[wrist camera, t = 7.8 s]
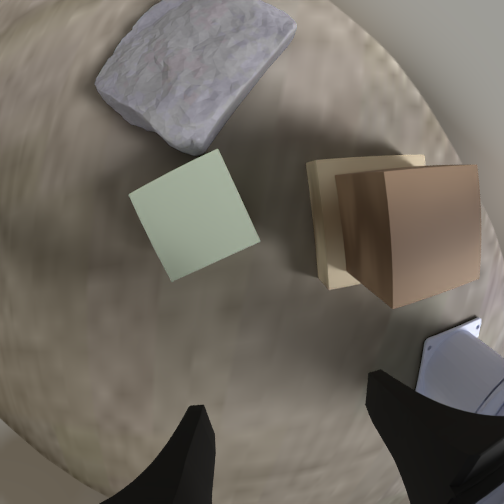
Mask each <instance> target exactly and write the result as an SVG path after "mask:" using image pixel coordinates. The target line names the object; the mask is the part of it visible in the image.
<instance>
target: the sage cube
mask: <svg viewBox="0 0 504 504" xmlns="http://www.w3.org/2000/svg"><path fill="white" fill-rule="evenodd" d="M128 195H129V197H130V199H131V201H132V204H133V206H134V208H135V210H136V212H137V214H138V217H139V219H140V221H141V223H142V225H143V227H144V229H145V231H146V233H147V235H148V237H149V239H150V241H151V243H152V245H153V247H154V249H155V251H156V253H157V255H158V257H159V259H160V261H161V263H162V265H163V267H164V269H165V271H166V272H167V274H168V276H169V278H170V280H171V282H173V281H175V280H177V279H179V278H181V277H184V276H186V275H188V274H190V273H192V272H195V271H197V270H199V269H201V268H203V267H206V266H208V265H210V264H212V263H214V262H217V261H219V260H221V259H223V258H225V257H228V256H230V255H232V254H234V253H236V252H239V251H241V250H243V249H245V248H247V247H250V246H252V245H254V244H256V243H258V242H261V241H260V239H259V237H258V235H257V232H256V230H255V228H254V226H253V224H252V221H251V219H250V217H249V215H248V213H247V210H246V208H245V206H244V204H243V202H242V200H241V197H240V195H239V193H238V191H237V189H236V186H235V184H234V182H233V180H232V178H231V176H230V173H229V171H228V169H227V167H226V165H225V163H224V160H223V158H222V156H221V154H220V152H219V150H218V149H216V150H214V151H212V152H209V153H207V154H205V155H203V156H201V157H199V158H197V159H195V160H193V161H191V162H188V163H186V164H184V165H182V166H180V167H178V168H176V169H174V170H173V171H171V172H169V173H167V174H165V175H163V176H161V177H159V178H157V179H155V180H153V181H152V182H150V183H148V184H146V185H144V186H143V187H141V188H139V189H137V190H135V191H134V192H132V193H130V194H128Z"/></svg>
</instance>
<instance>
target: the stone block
mask: <svg viewBox="0 0 504 504" xmlns="http://www.w3.org/2000/svg"><path fill="white" fill-rule="evenodd" d="M296 29H297V24H296V22H295V21H294V20H293V19H292V18H291V17H290V16H289V15H288V14H287V13H285V12H284V11H282V10H279V9H277V8H276V7H274V6H272V5H270V4H268V3H265V2H263V1H261V0H162V1H161V2H159V3H157V4H155V5H154V6H152V7H151V8H150V9H149V10H148V11H147V12H145V13H144V14H143V15H142V16H141V18H140V19H139V20H138V21H137V22H136V24H135V25H134V26H133V29H132V30H131V31H130V32H129V33H128V34H127V35H126V36H125V37H124V38H123V39H122V40H121V42H120V43H119V44H118V46H117V47H116V49H115V51H114V53H113V55H112V56H111V57H110V58H108V60H107V62H106V63H105V65H104V66H103V68H102V70H101V71H100V73H99V75H98V76H97V78H96V81H95V85H96V89H97V91H98V92H99V94H100V95H101V97H102V99H103V100H104V101H105V102H106V103H107V104H108V105H110V106H111V107H112V108H113V109H114V110H115V111H116V112H118V113H119V114H121V116H122V117H123V119H125V120H126V121H128V122H129V123H130V124H131V125H135V126H138V127H142V128H144V129H145V130H146V131H153V132H156V133H158V134H159V135H160V136H161V137H162V138H163V139H164V140H165V141H166V142H167V144H168V145H170V146H171V147H173V148H175V149H177V150H179V151H181V152H183V153H188V154H190V155H193V156H199V155H201V154H204V153H205V151H206V150H207V149H208V147H209V145H210V144H211V143H212V141H213V140H214V139H215V137H216V136H217V134H218V133H219V132H220V130H221V129H222V127H223V126H224V125H225V123H226V122H227V121H228V119H229V118H230V116H231V115H232V114H233V112H234V111H235V110H236V108H237V107H238V106H239V105H240V103H241V102H242V101H243V100H244V98H245V97H246V96H247V94H248V93H249V92H250V91H251V89H252V88H253V87H254V86H255V84H256V83H257V82H258V80H259V79H260V78H261V77H262V75H263V74H264V73H265V72H266V70H267V69H268V68H269V67H270V66H271V65H272V64H273V62H274V61H275V60H276V59H277V58H278V56H280V55H281V53H282V52H283V51H284V50H285V49H286V48H287V46H288V45H289V44H290V42H291V41H292V39H293V38H294V35H295V31H296Z"/></svg>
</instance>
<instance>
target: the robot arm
mask: <svg viewBox="0 0 504 504" xmlns="http://www.w3.org/2000/svg"><path fill="white" fill-rule="evenodd" d="M480 326H481V318H479V317H477V318H475V319H473V320H471V321H468V322H466V323H464V324H462V325H459V326H457V327H454V328H452V329H450V330H447V331H445V332H442V333H440V334H437V335H434V336H432V337H429V338H427V339H426V341H425V343H424V348H423V354H422V360H421V366H420V371H419V376H418V381H417V386H416V390H413V389H411V388H409V387H408V386H406V385H405V384H403V383H401V382H400V381H398V380H397V379H395V378H393V377H392V376H390V375H389V374H387V373H386V372H384V371H382V370H381V369H380V370H377V371H374V372H371V373H368V384H367V395H366V404H365V405H366V408H367V410H368V413H369V415H370V417H371V420H372V422H373V424H374V426H375V427H376V429H377V431H378V433H379V434H380V436H381V438H382V439H383V441H384V443H385V444H386V446H387V448H388V450H389V451H390V453H391V455H392V457H393V458H394V460H395V462H396V465H397V467H398V470H399V472H400V475H401V477H402V480H403V483H404V485H405V488H406V491H407V494H408V497H409V500H410V504H504V358H503V357H502V356H501V355H499V354H498V353H497V352H496V351H494V350H493V349H492V348H490V347H489V346H488V345H486V344H485V343H484V342H482V341H481V340H480V339H478V335H479V331H480ZM215 454H216V451H215V433H214V431H213V428H212V425H211V423H210V420H209V417H208V415H207V412H206V409H205V407H204V405H193V406H189V408H188V409H187V411H186V413H185V415H184V417H183V418H182V420H181V422H180V424H179V425H178V427H177V429H176V430H175V432H174V433H173V435H172V436H171V438H170V440H169V441H168V443H167V444H166V445H165V447H164V448H163V449H162V451H161V452H160V453H159V455H158V456H157V457H156V458H155V460H154V461H153V462H152V463H151V464H150V465H149V466H148V467H147V468H146V469H145V470H144V471H143V472H142V473H141V474H140V475H139V476H138V477H137V478H136V479H135V480H134V481H133V482H131V483H130V484H129V485H128V486H126V487H125V488H124V489H122V490H121V491H119V492H118V493H117V494H115V495H114V496H112V497H110V498H109V499H107V500H105V501H103V502H101V503H100V504H212V487H213V477H214V466H215Z"/></svg>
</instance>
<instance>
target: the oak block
mask: <svg viewBox="0 0 504 504" xmlns="http://www.w3.org/2000/svg"><path fill="white" fill-rule="evenodd" d="M412 166H425V157H424V155H387V156H364V157H348V158H334V159H322V160H314V161H311V162H307V163H306V170H307V177H308V185H309V193H310V201H311V209H312V218H313V227H314V237H315V247H316V258H317V269H318V278H319V279H320V280H321V282H322V283H323V284H324V285H325V286H326V287H327V288H328V289H329V290H332V289H337V288H342V287H347V286H352V285H357V284H361V283H360V282H359V281H358V280H356V279H355V278H354V277H353V276H351V275H350V274H349V273H348V272H346V260H345V250H344V241H343V232H342V224H341V216H340V208H339V201H338V194H337V187H336V181H335V175H338V174H346V173H354V172H363V171H371V170H381V169H391V168H401V167H412Z"/></svg>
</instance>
